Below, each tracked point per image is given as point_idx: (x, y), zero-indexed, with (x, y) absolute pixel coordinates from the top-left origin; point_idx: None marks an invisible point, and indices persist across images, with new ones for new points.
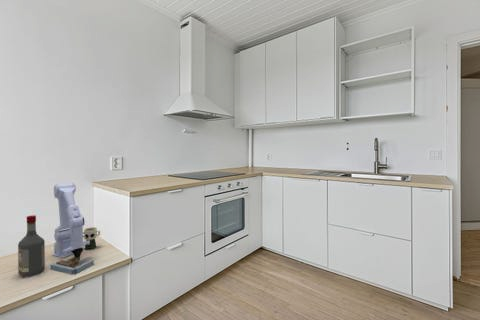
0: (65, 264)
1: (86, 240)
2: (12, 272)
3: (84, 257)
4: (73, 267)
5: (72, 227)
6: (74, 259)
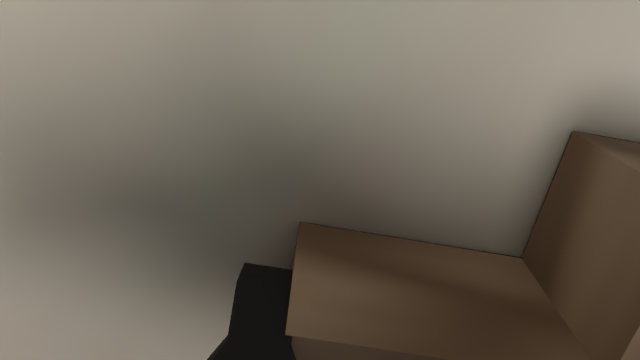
0: None
1: None
2: None
3: (4, 316)
4: (605, 147)
5: None
6: (441, 356)
